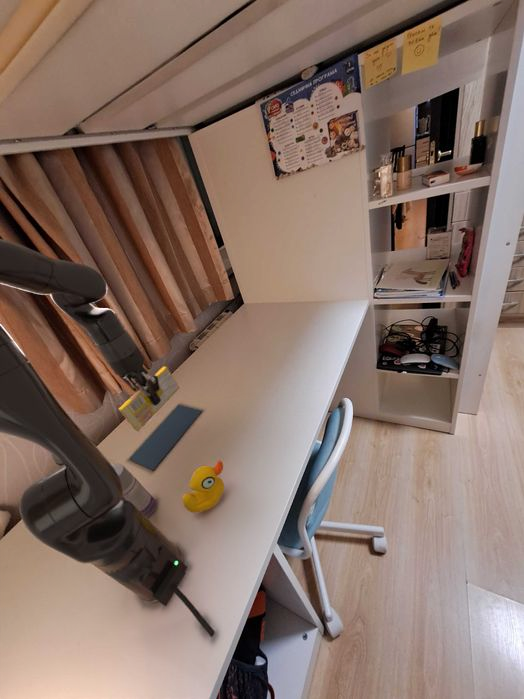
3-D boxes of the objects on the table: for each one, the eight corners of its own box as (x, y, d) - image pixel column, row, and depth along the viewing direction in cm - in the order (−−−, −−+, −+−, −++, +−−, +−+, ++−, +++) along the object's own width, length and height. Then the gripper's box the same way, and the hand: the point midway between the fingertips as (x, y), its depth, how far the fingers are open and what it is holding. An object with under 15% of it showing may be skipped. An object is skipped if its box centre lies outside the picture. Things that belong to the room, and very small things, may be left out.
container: (135, 508, 70) (100, 473, 62) (152, 494, 72) (120, 458, 64) (141, 522, 67) (105, 487, 59) (159, 507, 69) (126, 471, 61)
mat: (202, 411, 93) (202, 410, 92) (153, 470, 78) (153, 470, 78) (178, 405, 98) (178, 404, 98) (129, 459, 84) (128, 458, 84)
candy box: (175, 386, 85) (163, 365, 80) (180, 388, 84) (168, 366, 79) (133, 429, 75) (117, 408, 70) (138, 432, 74) (122, 410, 69)
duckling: (228, 474, 71) (214, 449, 66) (239, 490, 67) (224, 464, 61) (187, 506, 67) (169, 483, 62) (196, 525, 63) (177, 501, 57)
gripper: (91, 358, 70) (128, 407, 79) (125, 364, 62) (161, 418, 72) (116, 340, 75) (148, 388, 84) (150, 344, 67) (181, 396, 77)
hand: (154, 401), depth 78 cm, fingers closed on candy box, 2 cm apart
